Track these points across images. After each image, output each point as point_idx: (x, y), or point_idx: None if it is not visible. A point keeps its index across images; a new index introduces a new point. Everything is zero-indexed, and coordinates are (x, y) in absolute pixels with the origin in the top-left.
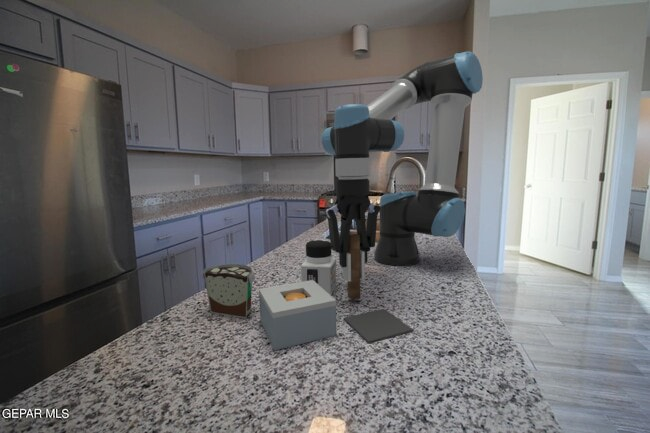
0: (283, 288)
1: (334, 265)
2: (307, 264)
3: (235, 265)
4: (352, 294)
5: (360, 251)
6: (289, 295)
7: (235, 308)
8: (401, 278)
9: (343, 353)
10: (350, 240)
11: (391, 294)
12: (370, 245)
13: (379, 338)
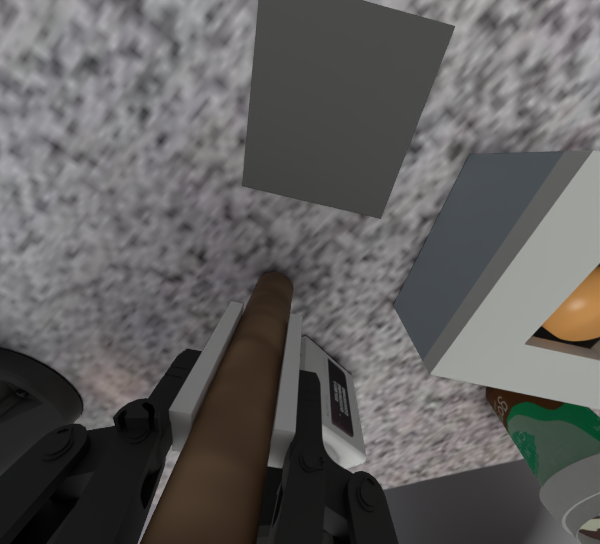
0: (568, 376)
1: None
2: (351, 456)
3: (578, 537)
4: (288, 286)
5: (190, 424)
6: (593, 331)
7: None
8: (69, 305)
9: (557, 37)
10: None
11: (156, 249)
12: (84, 446)
13: (410, 14)
